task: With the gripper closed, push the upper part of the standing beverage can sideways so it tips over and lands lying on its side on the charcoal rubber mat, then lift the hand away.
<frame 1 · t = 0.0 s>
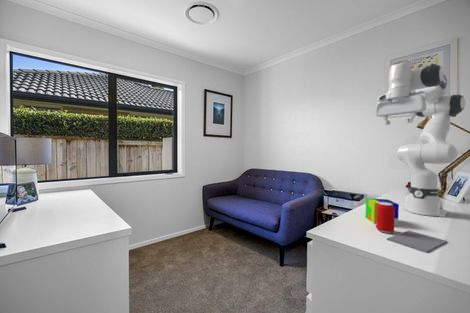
hand: (398, 123, 104), 48 cm above the table, tool pointing down, fingers open, 8 cm apart
beverage can: (384, 231, 91), on the table
mat: (416, 240, 81), on the table
puzzle toy: (380, 221, 104), on the table
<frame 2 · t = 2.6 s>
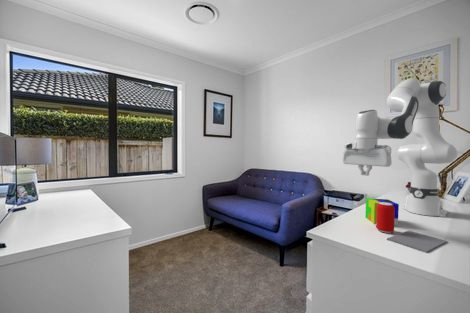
hand: (364, 175, 98), 23 cm above the table, tool pointing down, fingers closed
nothing on the table moved.
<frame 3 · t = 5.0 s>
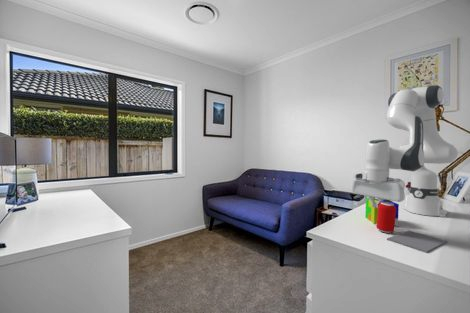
hand: (375, 207, 94), 9 cm above the table, tool pointing down, fingers closed
beverage can: (384, 231, 91), on the table, touching gripper
everything else where it was.
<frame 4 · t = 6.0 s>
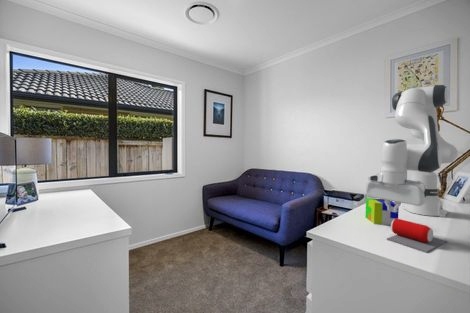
hand: (392, 211, 88), 9 cm above the table, tool pointing down, fingers closed
beverage can: (392, 225, 88), point 4 cm above the table, touching mat
everything else where it was.
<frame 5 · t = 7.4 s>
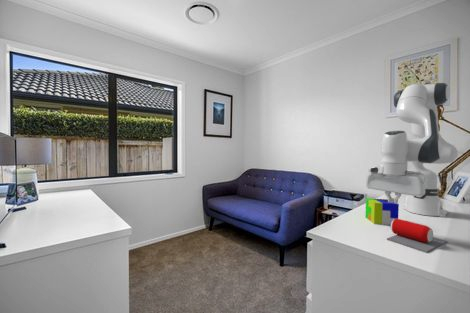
hand: (392, 202, 88), 13 cm above the table, tool pointing down, fingers closed
nothing on the table moved.
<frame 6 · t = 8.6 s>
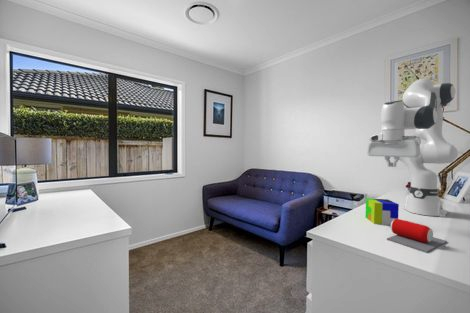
hand: (391, 166, 98), 27 cm above the table, tool pointing down, fingers closed
nothing on the table moved.
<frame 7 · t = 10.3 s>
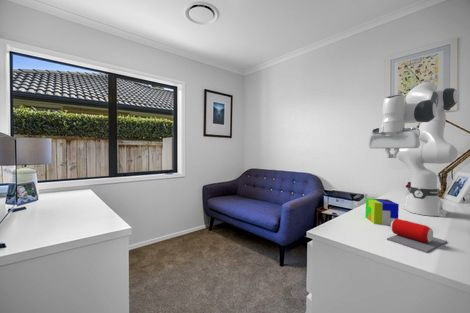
hand: (391, 158, 101), 31 cm above the table, tool pointing down, fingers closed
nothing on the table moved.
at the end: beverage can tilted 90°; beverage can 8.1 cm from the mat (horizontally) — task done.
